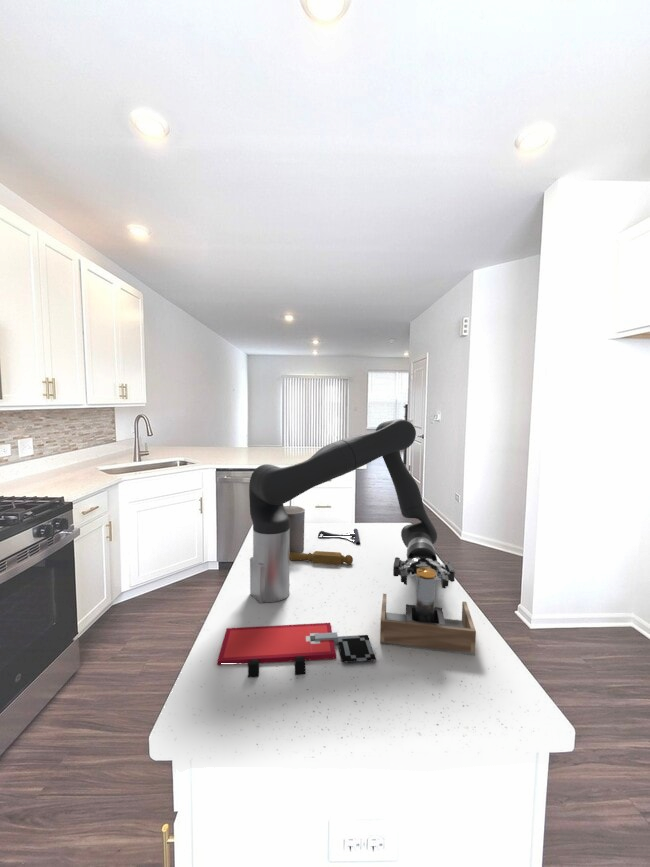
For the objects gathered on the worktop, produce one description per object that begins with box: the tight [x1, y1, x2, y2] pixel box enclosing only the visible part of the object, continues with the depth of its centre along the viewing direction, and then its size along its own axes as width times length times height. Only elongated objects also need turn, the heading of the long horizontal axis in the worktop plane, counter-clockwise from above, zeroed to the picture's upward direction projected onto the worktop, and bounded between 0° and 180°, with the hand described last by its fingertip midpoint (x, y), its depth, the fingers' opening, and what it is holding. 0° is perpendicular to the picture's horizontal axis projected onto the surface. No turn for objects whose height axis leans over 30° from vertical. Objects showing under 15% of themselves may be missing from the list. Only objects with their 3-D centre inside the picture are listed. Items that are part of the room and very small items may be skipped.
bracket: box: [317, 528, 361, 545], centre depth 146 cm, size 14×15×3 cm
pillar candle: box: [283, 505, 306, 553], centre depth 133 cm, size 10×10×15 cm
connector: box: [415, 567, 437, 623], centre depth 87 cm, size 4×4×13 cm
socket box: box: [379, 593, 477, 656], centre depth 86 cm, size 12×19×5 cm, turn 79°
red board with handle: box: [216, 622, 377, 678], centre depth 80 cm, size 30×3×15 cm
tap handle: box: [289, 550, 354, 566], centre depth 124 cm, size 3×3×30 cm
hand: (424, 582), depth 90 cm, fingers open, 8 cm apart
